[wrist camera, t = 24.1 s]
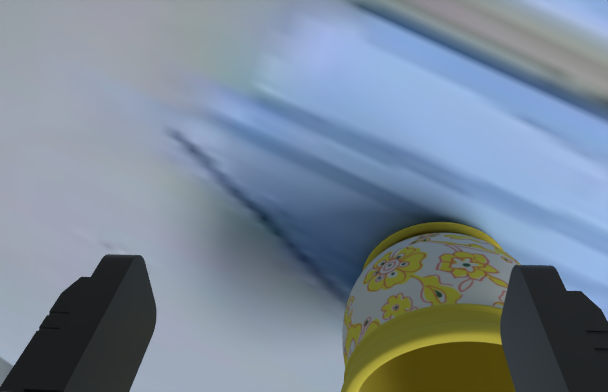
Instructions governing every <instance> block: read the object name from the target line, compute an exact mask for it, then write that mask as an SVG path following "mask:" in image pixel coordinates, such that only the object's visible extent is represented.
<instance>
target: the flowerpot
mask: <svg viewBox="0 0 608 392" xmlns="http://www.w3.org/2000/svg"><path fill="white" fill-rule="evenodd" d="M515 265H521V264H520V263H519V262H518V261H516V260H515V259H514V258H513V257H511V256H510V255H509V254H507V253H506V252H504V251H503V249H502V248H501V247H500V246H499V244H498V243H497V242H496V241H495V240H493V239H492V238H491V237H490V236H488V235H487V234H485V233H483V232H482V231H480V230H477V229H475V228H473V227H470V226H466V225H463V224H458V223H452V222H429V223H423V224H418V225H414V226H410V227H407V228H405V229H402V230H400V231H398V232H396V233H394V234H392V235H390V236H389V237H387V238H386V239H385V240H383V241H382V242H381V243H380V244H379V245H378V246H377V247H376V248H375V249H374V250H373V251H372V252H371V254H370V255H369V257H368V258H367V260H366V262H365V264H364V267H363V271H362V273H361V275H360V276H359V277H358V279H357V281H356V283H355V284H354V286H353V288H352V291H351V293H350V295H349V298H348V301H347V304H346V309H345V313H344V321H343V355H344V363H345V373H344V384H343V386H342V390H341V392H516V391H515V387H514V384H513V381H512V377H511V374H510V371H509V367H508V364H507V360H506V357H505V354H504V350H503V347H502V342H501V335H500V321H501V314H502V310H503V305H504V301H505V297H506V292H507V288H508V284H509V279H510V275H511V271H512V268H513V267H514V266H515Z"/></svg>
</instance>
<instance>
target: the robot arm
mask: <svg viewBox="0 0 608 392" xmlns="http://www.w3.org/2000/svg"><path fill="white" fill-rule="evenodd" d="M155 324H156V304H155V300H154V296H153V292H152V288H151V284H150V280H149V276H148V272H147V268H146V264H145V261H144V259H143V257H142V256H140V255H110V254H108V255H105V256H104V257H103V258H102V260H101V261H100V263H99V264H98V266H97V268H96V269H95V271H94V273H93V274H92V276H91V277H81V278H79V279H78V280H77V281H76V282H74V283H73V284H72V285H71V286H70V287H68V288H67V289H66V290H65V291H63V292H62V293H61V295H60V296H59V298H58V299H57V301H56V302H55V304H54V305H53V307H52V308H51V310H50V314H49V316H48V315H47V316H46V318H45V319H44V321H43V322H42V324H41V325H40V327H39V328H40V329H39V331H36V333H35V335H34V336H33V338H32V339H31V341H30V342H29V344H28V345H27V347H26V348H25V350H24V351H23V353H22V354H21V356H20V358H19V359H18V361H17V362H16V364H15V365H14V367H13V368H12V370H11V371H10V373H9V374H8V376H7V377H6V379H5V381H4V382H3V384H2V385H1V387H0V392H129V391H130V388H131V386H132V383H133V381H134V379H135V376H136V374H137V371H138V369H139V366H140V364H141V362H142V359H143V357H144V354H145V352H146V349H147V347H148V344H149V342H150V340H151V337H152V335H153V332H154V329H155ZM500 335H501V342H502V347H503V350H504V354H505V357H506V360H507V364H508V367H509V371H510V374H511V377H512V381H513V384H514V387H515V391H516V392H608V321H607V320H606V318H605V316H604V314H603V312H602V310H601V309H600V308H599V307H598V306H596V305H595V304H594V303H593V302H592V301H591V300H590V299H589V298H588V297H587V296H586V295H584V294H583V293H582V292H581V291H566V289H565V287H564V284H563V282H562V280H561V278H560V276H559V274H558V272H557V270H556V269H555V267H553V266H545V265H515V266H514V267H513V268H512V271H511V275H510V279H509V284H508V288H507V292H506V297H505V301H504V305H503V310H502V314H501V321H500Z"/></svg>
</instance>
